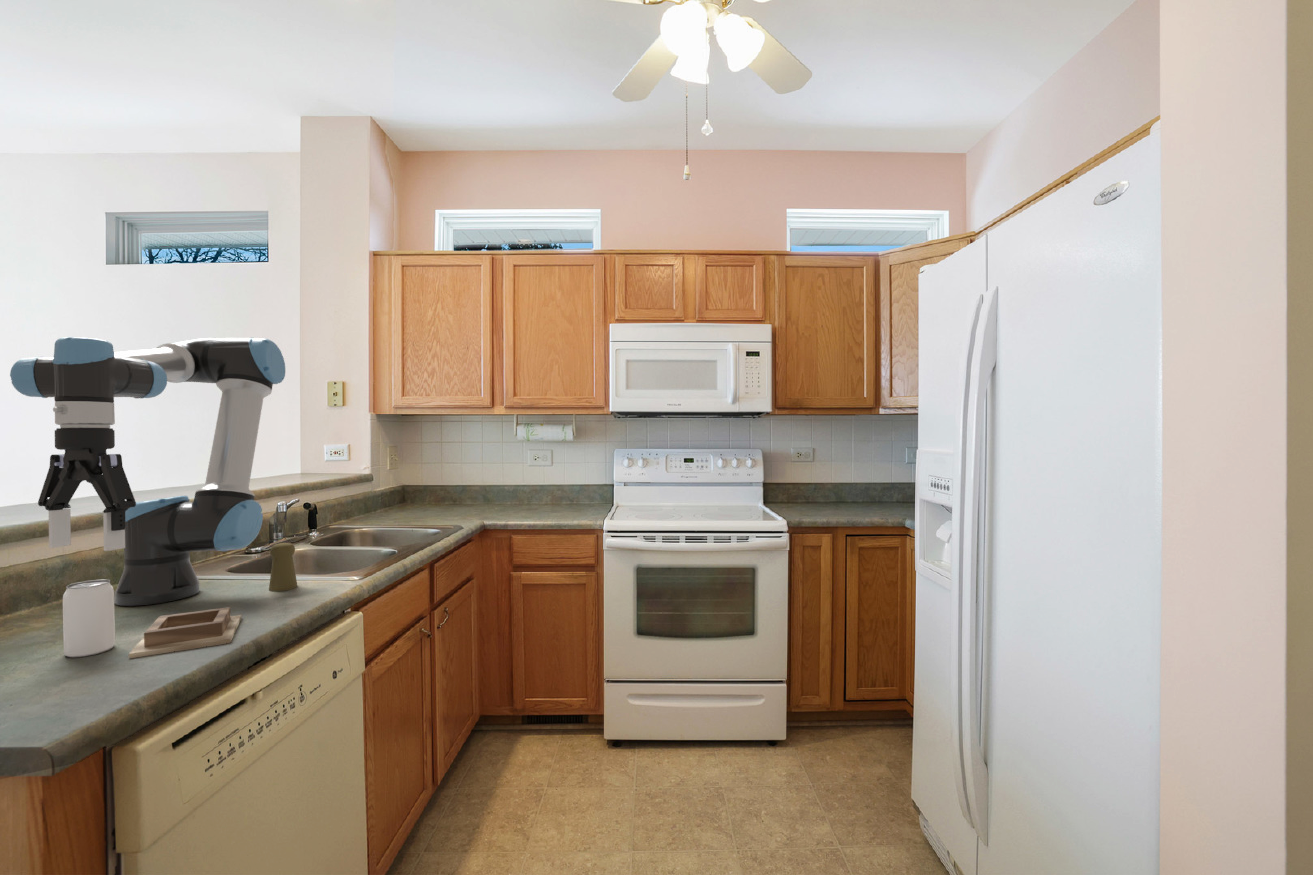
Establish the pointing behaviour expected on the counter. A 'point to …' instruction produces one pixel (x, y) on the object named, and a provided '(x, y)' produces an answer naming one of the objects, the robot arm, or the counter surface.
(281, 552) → the cork
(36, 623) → the counter surface
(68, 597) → the can
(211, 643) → the keeper board
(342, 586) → the counter surface
